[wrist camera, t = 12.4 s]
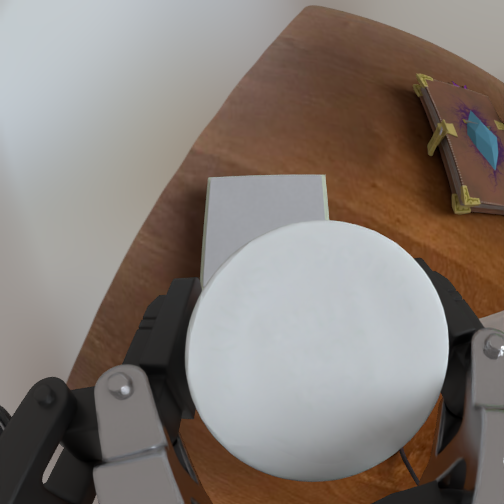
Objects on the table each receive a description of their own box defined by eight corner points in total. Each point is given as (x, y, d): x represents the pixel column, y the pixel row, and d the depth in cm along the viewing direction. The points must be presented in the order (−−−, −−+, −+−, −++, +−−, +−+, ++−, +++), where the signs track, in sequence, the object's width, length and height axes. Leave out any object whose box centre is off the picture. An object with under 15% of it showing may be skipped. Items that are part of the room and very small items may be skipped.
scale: (205, 302, 30) (196, 297, 27) (213, 189, 33) (206, 173, 30) (328, 302, 29) (334, 298, 25) (322, 186, 32) (325, 170, 29)
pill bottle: (242, 287, 17) (174, 188, 6) (352, 291, 16) (457, 201, 5) (234, 397, 15) (150, 483, 4) (347, 401, 14) (450, 483, 4)
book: (472, 91, 36) (484, 73, 31) (523, 223, 29) (544, 210, 24) (393, 71, 37) (402, 48, 32) (439, 216, 30) (461, 198, 25)
